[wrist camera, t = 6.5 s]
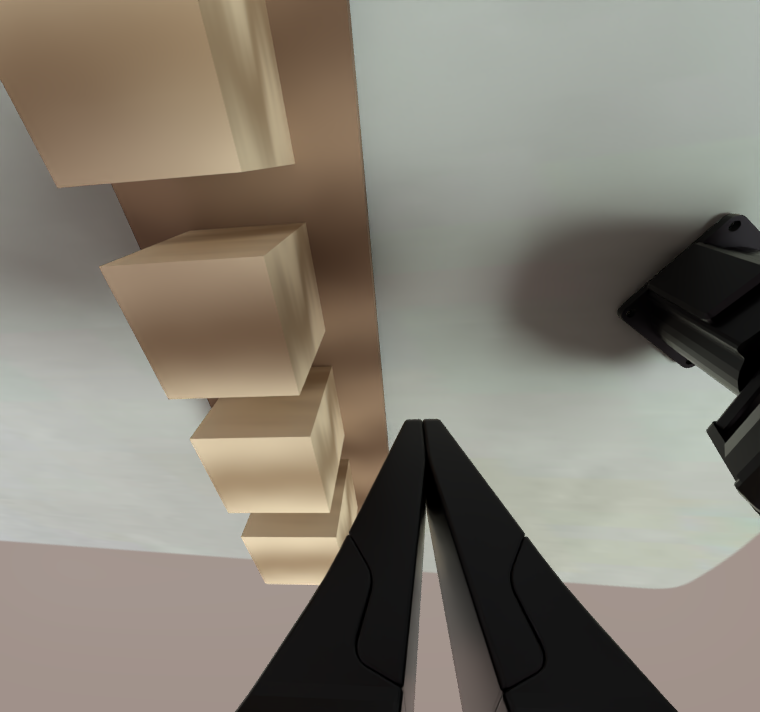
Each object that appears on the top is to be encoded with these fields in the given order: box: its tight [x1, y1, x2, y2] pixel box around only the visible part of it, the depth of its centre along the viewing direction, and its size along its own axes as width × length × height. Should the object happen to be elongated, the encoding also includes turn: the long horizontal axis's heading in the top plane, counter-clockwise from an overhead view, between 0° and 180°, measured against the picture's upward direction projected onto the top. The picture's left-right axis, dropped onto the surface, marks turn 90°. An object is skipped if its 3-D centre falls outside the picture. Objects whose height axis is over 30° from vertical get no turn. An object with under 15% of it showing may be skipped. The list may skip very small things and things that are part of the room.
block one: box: [0, 0, 295, 188], centre depth 11 cm, size 6×6×6 cm
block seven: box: [99, 222, 325, 399], centre depth 16 cm, size 6×6×6 cm
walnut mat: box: [111, 0, 389, 514], centre depth 21 cm, size 36×12×1 cm, turn 4°
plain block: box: [190, 366, 345, 513], centre depth 20 cm, size 6×6×6 cm
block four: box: [241, 459, 358, 585], centre depth 25 cm, size 6×6×6 cm
